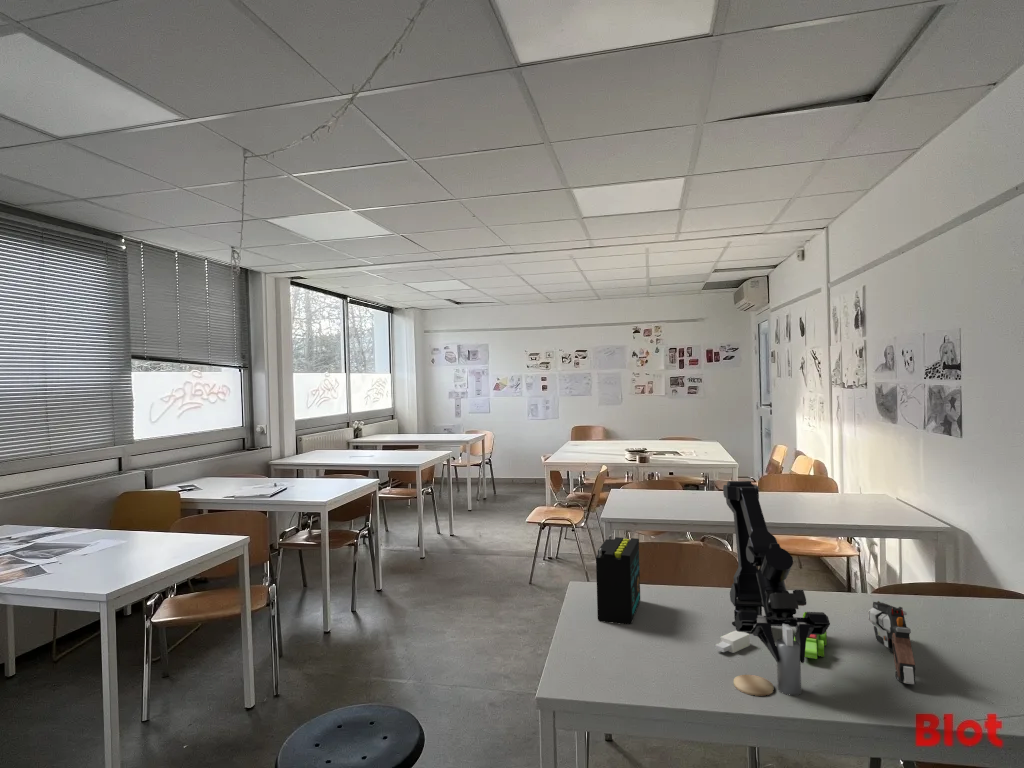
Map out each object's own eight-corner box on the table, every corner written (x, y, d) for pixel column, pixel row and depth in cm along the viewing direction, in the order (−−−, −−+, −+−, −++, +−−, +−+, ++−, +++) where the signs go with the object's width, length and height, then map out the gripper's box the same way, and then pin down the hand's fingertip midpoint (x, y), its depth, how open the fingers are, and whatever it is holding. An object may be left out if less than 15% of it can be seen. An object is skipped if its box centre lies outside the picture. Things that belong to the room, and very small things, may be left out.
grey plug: (774, 684, 126) (772, 622, 126) (797, 685, 126) (795, 622, 126) (781, 695, 122) (779, 630, 122) (804, 696, 121) (802, 631, 121)
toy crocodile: (822, 668, 133) (822, 641, 133) (791, 661, 137) (790, 636, 137) (828, 636, 150) (827, 613, 150) (799, 631, 153) (799, 608, 153)
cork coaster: (754, 674, 131) (754, 672, 131) (782, 691, 123) (782, 688, 123) (725, 681, 128) (725, 678, 128) (751, 699, 120) (751, 696, 120)
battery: (609, 597, 181) (607, 534, 182) (640, 600, 178) (638, 535, 178) (597, 621, 163) (595, 550, 164) (631, 625, 160) (629, 552, 160)
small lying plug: (737, 641, 148) (737, 629, 148) (749, 646, 145) (749, 634, 146) (713, 652, 143) (712, 640, 143) (725, 657, 140) (725, 644, 140)
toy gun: (892, 663, 146) (887, 600, 150) (923, 686, 121) (915, 610, 125) (871, 660, 148) (866, 599, 152) (897, 682, 123) (890, 607, 127)
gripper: (736, 574, 129) (750, 645, 118) (825, 575, 126) (848, 648, 115) (729, 596, 137) (742, 665, 126) (813, 599, 134) (833, 669, 123)
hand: (790, 662), depth 122 cm, fingers closed on grey plug, 5 cm apart
